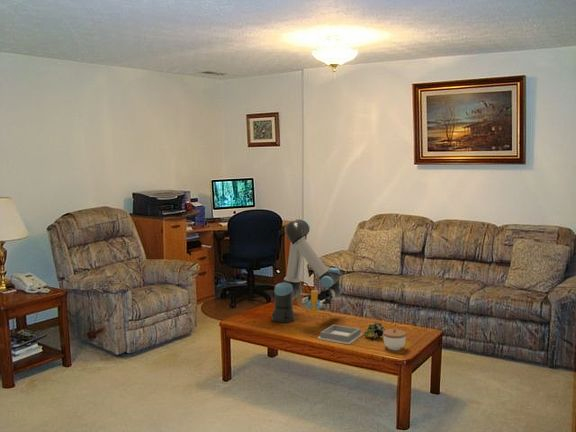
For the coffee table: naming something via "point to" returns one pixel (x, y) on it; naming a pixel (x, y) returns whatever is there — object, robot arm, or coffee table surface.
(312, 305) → the orange tube
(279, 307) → the robot arm
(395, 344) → the lidded bowl
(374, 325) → the passion flower
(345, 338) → the holder tray
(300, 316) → the coffee table surface
